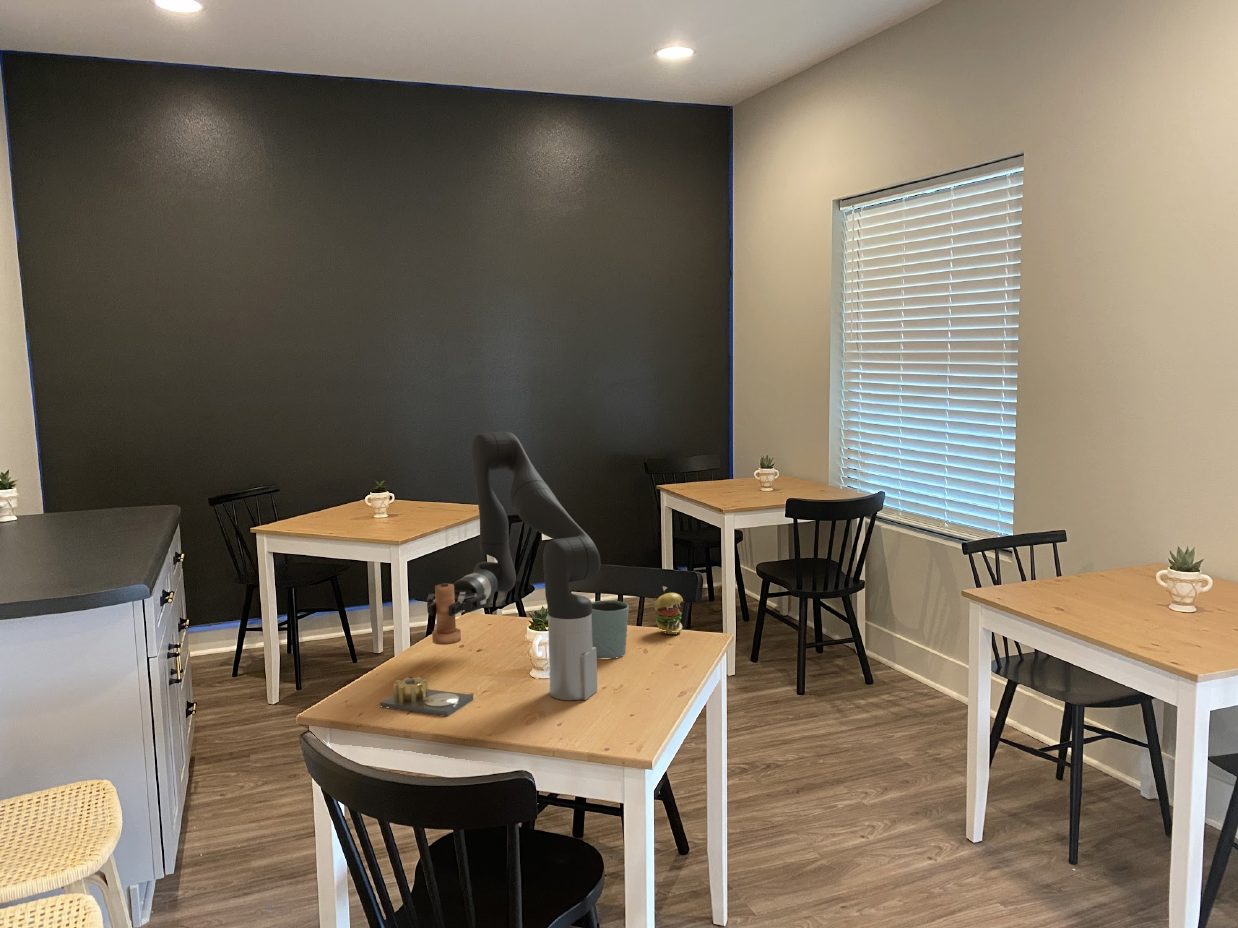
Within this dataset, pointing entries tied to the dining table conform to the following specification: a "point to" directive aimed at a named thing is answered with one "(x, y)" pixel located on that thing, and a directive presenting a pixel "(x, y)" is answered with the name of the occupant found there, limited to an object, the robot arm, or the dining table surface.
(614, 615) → the teal cup
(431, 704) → the carrier plate
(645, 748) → the dining table surface
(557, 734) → the dining table surface
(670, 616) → the hamburger
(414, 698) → the sun gear
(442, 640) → the brown round post
